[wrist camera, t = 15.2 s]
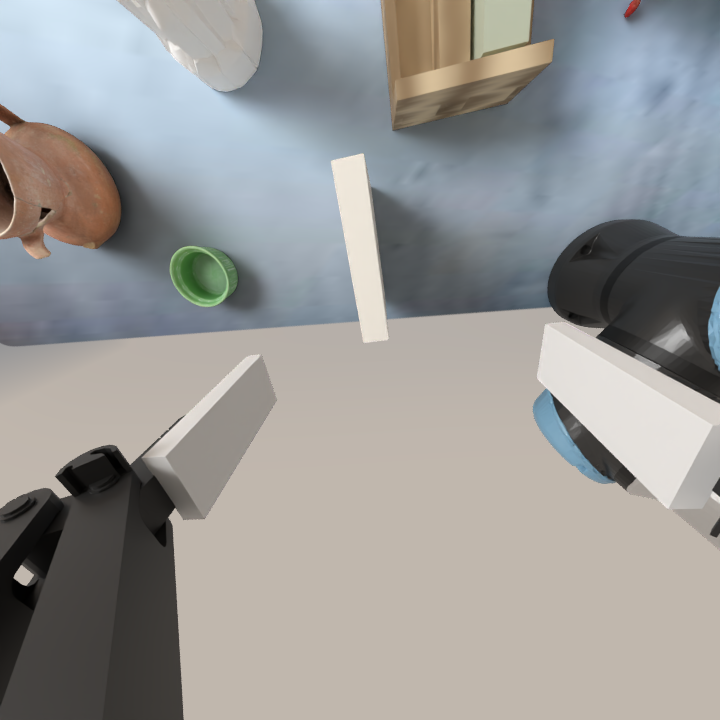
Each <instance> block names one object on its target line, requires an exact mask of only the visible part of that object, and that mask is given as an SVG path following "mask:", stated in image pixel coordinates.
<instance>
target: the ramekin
mask: <svg viewBox="0 0 720 720" xmlns="http://www.w3.org/2000/svg"><path fill="white" fill-rule="evenodd" d="M170 275H171V279H172V281H173V283H174V285H175V287H176V288H177V290H178V291H179V292H180V294H181V295H182V296H183V297H184V298H186V299H187V300H188V301H190V302H192V303H194V304H196V305H199V306H202V307H213V306H216V305H218V304H220V303H221V302H223V301H224V300H225V299H226V298H227V297H228V296H230V295H231V294H232V293H233V292H234V291H235V289H236V287H237V283H238V275H237V271H236V268H235V266H234V264H233V262H232V261H231V260H230V259H229V258H228V257H227V256H226V255H225V254H224V253H222V252H221V251H219V250H217V249H214V248H209V247H197V246H186V247H183V248H181V249H179V250H178V251H176V252H175V254H174V255H173V257H172V259H171V262H170Z"/></svg>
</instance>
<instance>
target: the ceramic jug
mask: <svg viewBox="0 0 720 720" xmlns="http://www.w3.org/2000/svg"><path fill="white" fill-rule="evenodd" d="M0 120H1V121H3V122H4V123H6V124H7V125H9V126H10V129H9V130H8V131H7V132H6V133H5V134H2V133H1V132H0V239H7V238H12V237H19V238H20V239H21V240H22V243H23V246H24V248H25V249H26V251H27V252H28V253H29V254H30V255H32V256H33V257H34V258H36V259H42V258H45V257H49V256H50V254H51V252H50V251H49V250H48V249H47V248H46V247H45V245H44V242H43V237H44V233H46V234H47V235H49V236H51V237H53V238H55V239H57V240H59V241H62V242H65V243H68V244H72V245H78V246H83V247H85V248H90V249H97V248H99V247H100V246H101V245H102V244H103V243H104V242H105V241H107V240H108V239H109V238H110V237H111V236H112V235H113V234H114V233H115V232H116V230H117V228H118V226H119V223H120V219H121V202H120V197H119V193H118V190H117V187H116V185H115V183H114V181H113V179H112V177H111V175H110V173H109V171H108V170H107V168H106V167H105V166H104V164H103V163H102V162H101V160H100V159H99V158H98V157H97V156H96V154H95V153H94V152H93V151H92V150H91V149H90V148H89V147H87V146H86V145H85V144H84V143H83V142H81V141H80V140H79V139H77V138H76V137H74V136H73V135H71V134H69V133H68V132H66V131H64V130H62V129H60V128H57V127H55V126H52V125H48V124H44V123H34V122H25V121H24V120H22V119H20V118H19V117H18V116H16V115H15V114H13V113H12V112H11V111H9V110H8V109H7V108H5V107H4V106H2V105H1V104H0Z"/></svg>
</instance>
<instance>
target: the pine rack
mask: <svg viewBox="0 0 720 720" xmlns="http://www.w3.org/2000/svg"><path fill="white" fill-rule="evenodd" d="M533 8H534V0H532V4H531V18H530V31H529V41H528V42H527V44H526V45H525V46H524V47H520V48H517V49H513V50H509V51H505V52H501V53H497V54H494V55H490V56H486V57H482V58H478V59H474V60H471V61H470V21H471V0H381V9H382V20H383V31H384V41H385V52H386V63H387V74H388V85H389V96H390V107H391V117H392V128H393V130H397V129H401V128H405V127H410V126H414V125H418V124H422V123H427V122H431V121H435V120H439V119H444V118H448V117H452V116H456V115H461V114H465V113H469V112H473V111H478V110H482V109H486V108H490V107H494V106H499V105H503V104H507V103H508V102H509V101H511V100H512V99H513V98H514V97H515V96H516V95H517V94H518V93H519V92H520V91H521V90H522V89H523V88H525V87H526V86H527V85H528V84H529V83H530V82H531V81H532V80H533V79H534V78H535V77H536V76H537V75H538V74H540V73H541V72H542V71H543V70H544V69H545V68H546V67H547V66H548V65H549V64H550V63H551V62H552V56H553V47H554V39H551V40H547V41H544V42H540V43H536V44H532V45H531V34H532V21H533Z"/></svg>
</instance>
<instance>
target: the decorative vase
mask: <svg viewBox="0 0 720 720" xmlns="http://www.w3.org/2000/svg"><path fill="white" fill-rule="evenodd" d="M117 1H118V2H119V3H120V4H122V5H123V6H124V7H125V8H126V9H127V10H129V11H130V12H131V13H132V14H133V15H134V16H136V17H137V18H138V19H139V20H140V21H141V22H143V23H144V24H145V25H146V26H147V27H149V28H150V29H151V30H152V31H153V32H154V33H156V35H157V36H158V38H159V39H160V41H161V42H162V44H163V45H164V47H165V48H166V50H167V51H168V52H169V53H170V54H172V56H173V58H174V59H175V60H177V61H178V62H179V63H180V64H181V65H183V66H184V67H185V68H186V69H188V70H189V71H190V72H191V73H193V74H194V75H195V76H196V77H198V78H199V79H200V80H201V81H203V82H204V83H205V84H206V85H208V86H209V87H211V88H212V89H214V88H215V89H216V90H217V91H224V92H229V91H232V90H236V89H237V88H241V87H242V86H244V85H245V84H246V83H247V82H248V80H249V79H250V78H251V77H252V76H253V75H254V73H255V72H256V71H257V67H258V66H259V61H260V56H261V49H262V37H263V29H262V22H261V19H260V16H259V13H258V10H257V7H256V3H255V1H254V0H117Z"/></svg>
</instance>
